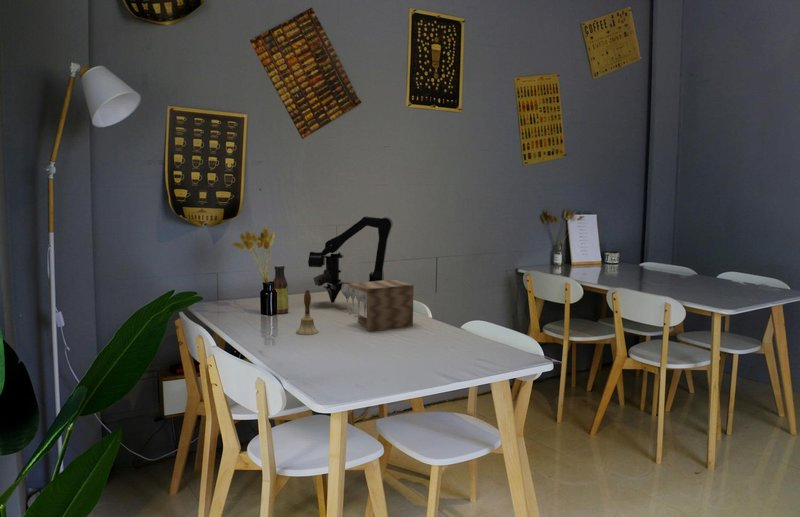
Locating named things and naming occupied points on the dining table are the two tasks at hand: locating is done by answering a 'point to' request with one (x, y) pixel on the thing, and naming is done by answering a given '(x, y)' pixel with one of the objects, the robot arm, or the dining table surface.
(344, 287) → the goblet set
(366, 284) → the walnut cubby
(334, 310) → the dining table surface
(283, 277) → the sauce bottle
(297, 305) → the dining table surface
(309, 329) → the hand bell
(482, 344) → the dining table surface
